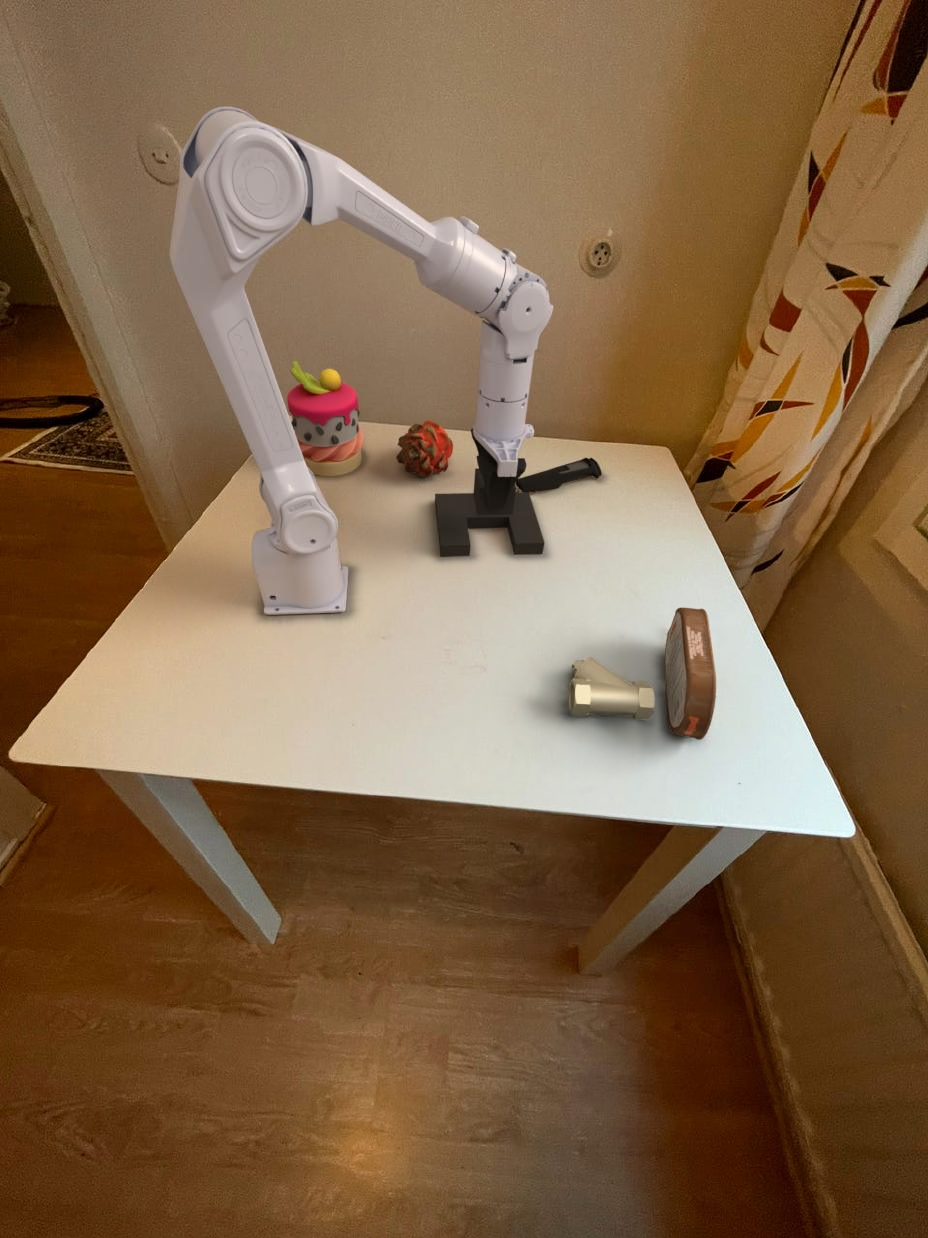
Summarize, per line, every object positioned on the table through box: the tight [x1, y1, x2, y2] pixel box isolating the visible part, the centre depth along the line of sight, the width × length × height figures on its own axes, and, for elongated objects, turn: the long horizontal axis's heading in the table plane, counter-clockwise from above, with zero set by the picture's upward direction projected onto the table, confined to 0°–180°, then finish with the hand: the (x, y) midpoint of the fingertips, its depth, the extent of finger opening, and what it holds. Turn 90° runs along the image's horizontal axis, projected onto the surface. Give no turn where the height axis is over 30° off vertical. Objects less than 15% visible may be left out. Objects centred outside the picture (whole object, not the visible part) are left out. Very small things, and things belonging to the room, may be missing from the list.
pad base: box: [434, 491, 546, 558], centre depth 79 cm, size 14×12×2 cm
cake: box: [286, 360, 365, 477], centre depth 85 cm, size 10×11×15 cm
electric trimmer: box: [515, 457, 603, 494], centre depth 88 cm, size 4×16×3 cm, turn 118°
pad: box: [473, 467, 517, 515], centre depth 71 cm, size 5×5×4 cm
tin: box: [664, 607, 717, 741], centre depth 58 cm, size 15×3×8 cm, turn 168°
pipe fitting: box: [567, 657, 656, 721], centre depth 59 cm, size 8×4×7 cm
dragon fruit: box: [396, 419, 454, 479], centre depth 87 cm, size 8×8×12 cm
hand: (493, 495), depth 71 cm, fingers closed on pad, 4 cm apart
